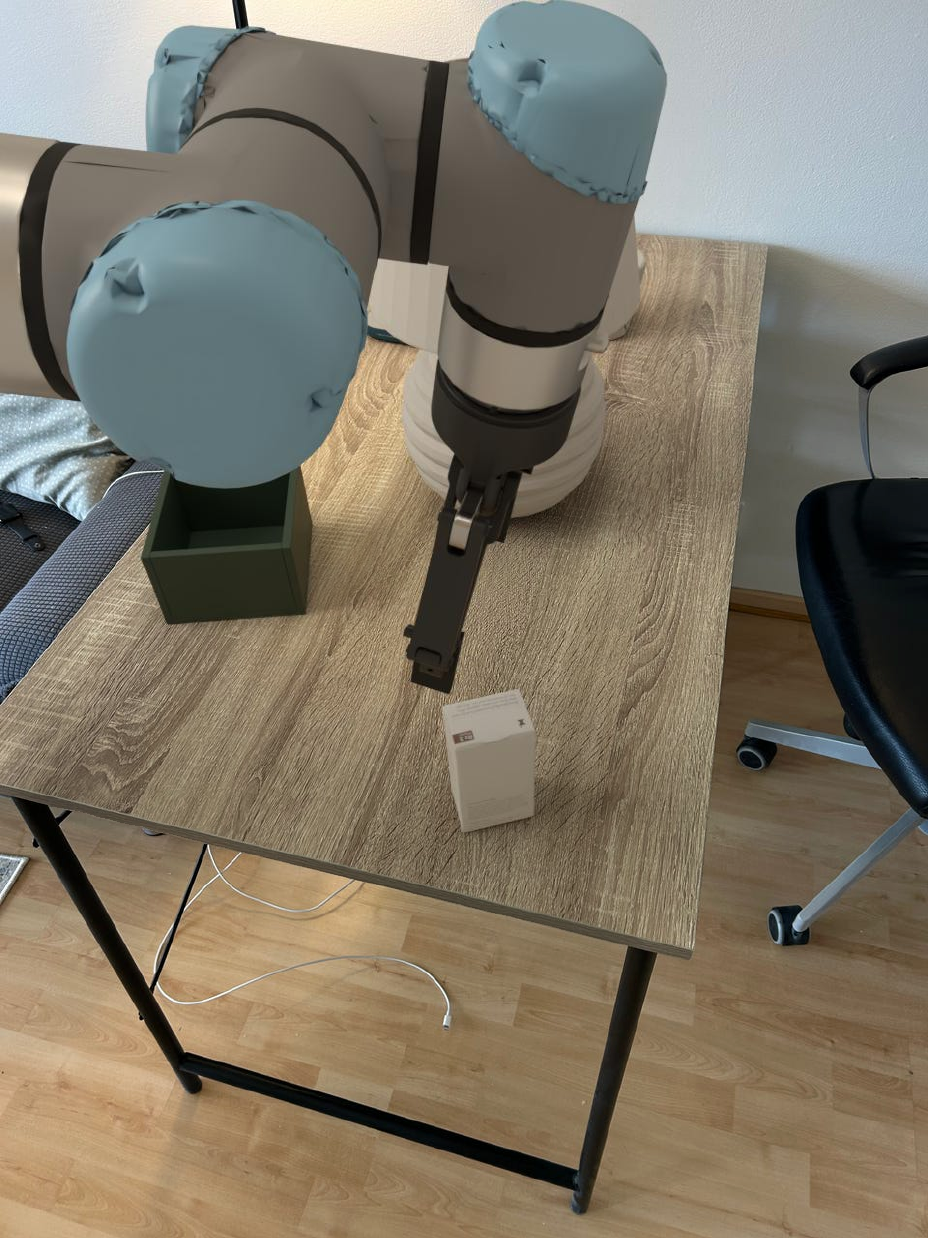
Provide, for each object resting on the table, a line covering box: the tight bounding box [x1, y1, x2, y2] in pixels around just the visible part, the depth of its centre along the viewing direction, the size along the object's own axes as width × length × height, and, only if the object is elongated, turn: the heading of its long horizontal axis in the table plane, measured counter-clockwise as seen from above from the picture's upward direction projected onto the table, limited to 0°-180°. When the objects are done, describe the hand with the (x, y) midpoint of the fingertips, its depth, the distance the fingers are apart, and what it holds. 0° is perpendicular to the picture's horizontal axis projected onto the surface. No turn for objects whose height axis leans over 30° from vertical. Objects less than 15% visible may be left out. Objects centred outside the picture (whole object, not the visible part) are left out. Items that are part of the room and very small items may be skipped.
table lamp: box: [368, 56, 641, 519], centre depth 86 cm, size 25×25×40 cm
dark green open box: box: [140, 464, 314, 625], centre depth 89 cm, size 14×14×9 cm
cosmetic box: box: [441, 688, 537, 833], centre depth 68 cm, size 6×4×12 cm
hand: (461, 604), depth 63 cm, fingers open, 13 cm apart
